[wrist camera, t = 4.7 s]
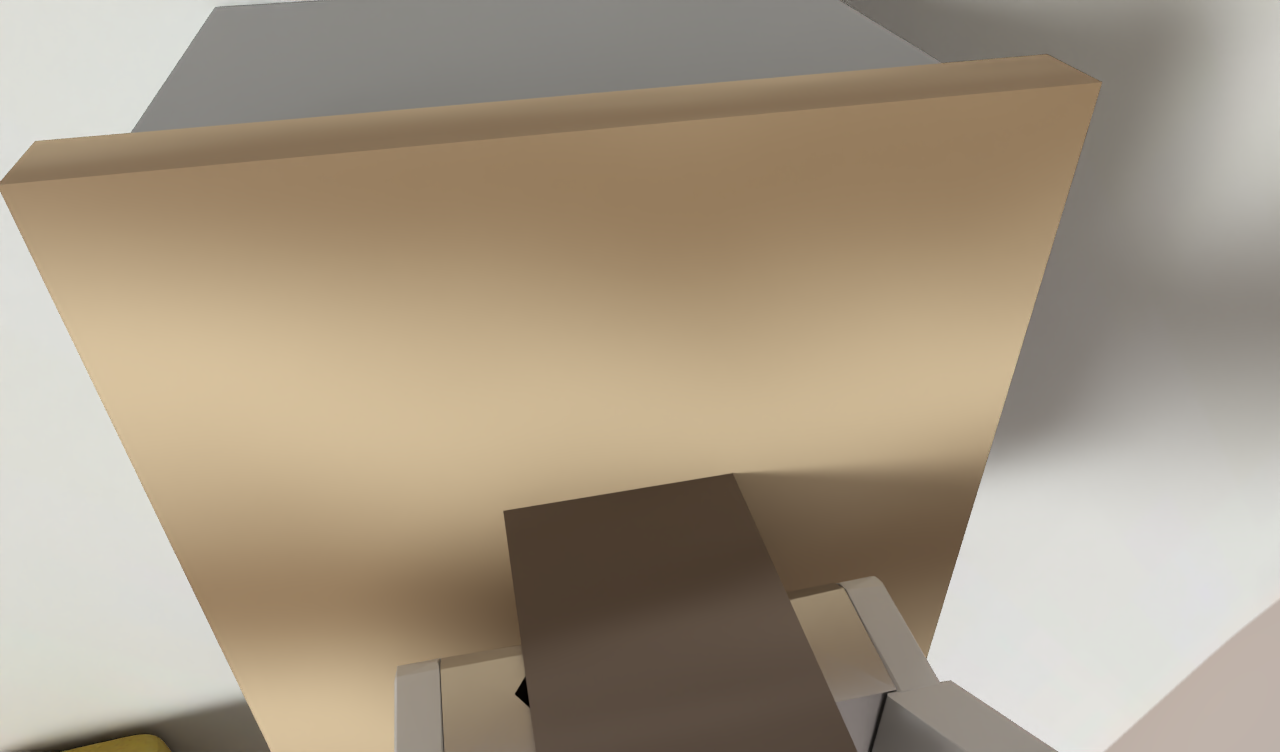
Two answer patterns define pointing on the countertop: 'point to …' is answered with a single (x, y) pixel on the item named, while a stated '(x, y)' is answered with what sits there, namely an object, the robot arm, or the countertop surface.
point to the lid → (565, 378)
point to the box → (497, 53)
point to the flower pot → (127, 745)
